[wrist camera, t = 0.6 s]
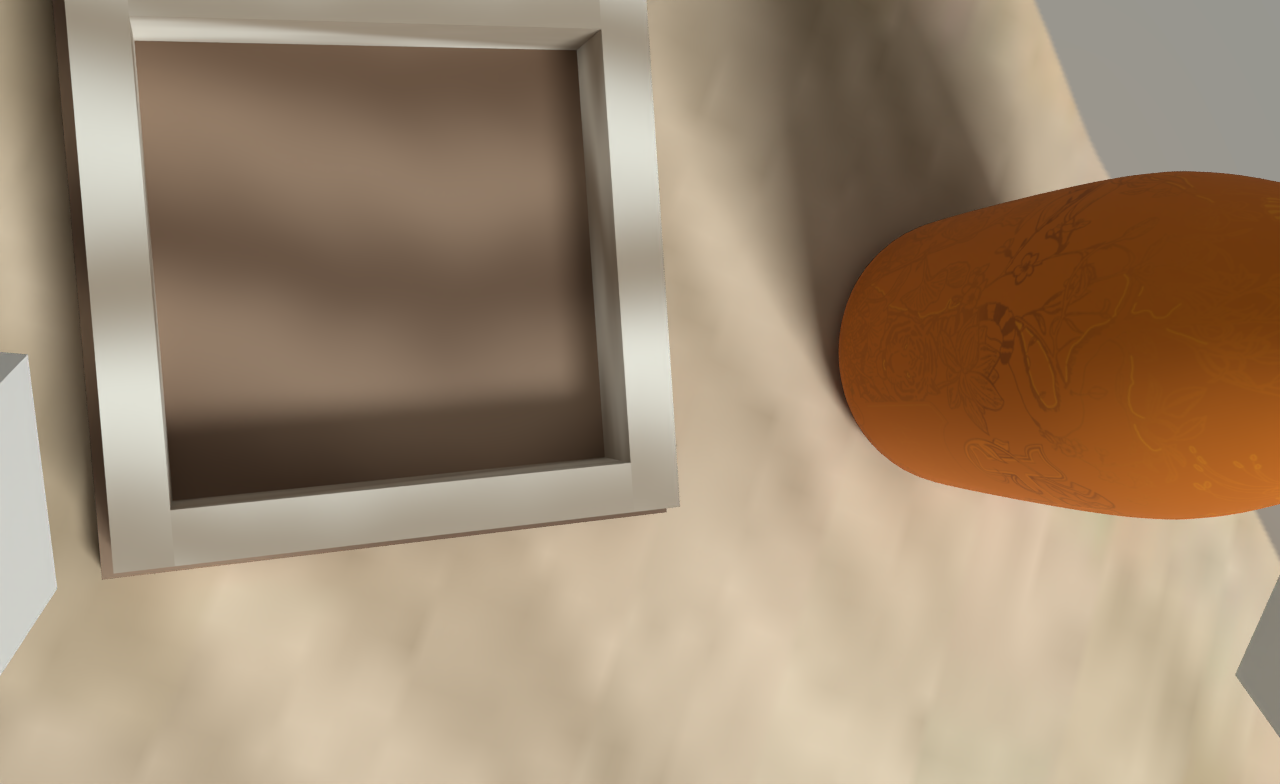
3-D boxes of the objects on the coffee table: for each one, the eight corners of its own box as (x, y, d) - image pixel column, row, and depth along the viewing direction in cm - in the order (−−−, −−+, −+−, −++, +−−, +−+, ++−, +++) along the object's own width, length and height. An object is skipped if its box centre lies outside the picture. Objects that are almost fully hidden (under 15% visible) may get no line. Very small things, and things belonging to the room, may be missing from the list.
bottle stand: (53, -24, 34) (37, -67, 30) (621, -2, 39) (659, -37, 36) (104, 573, 34) (94, 594, 31) (655, 508, 40) (696, 520, 37)
